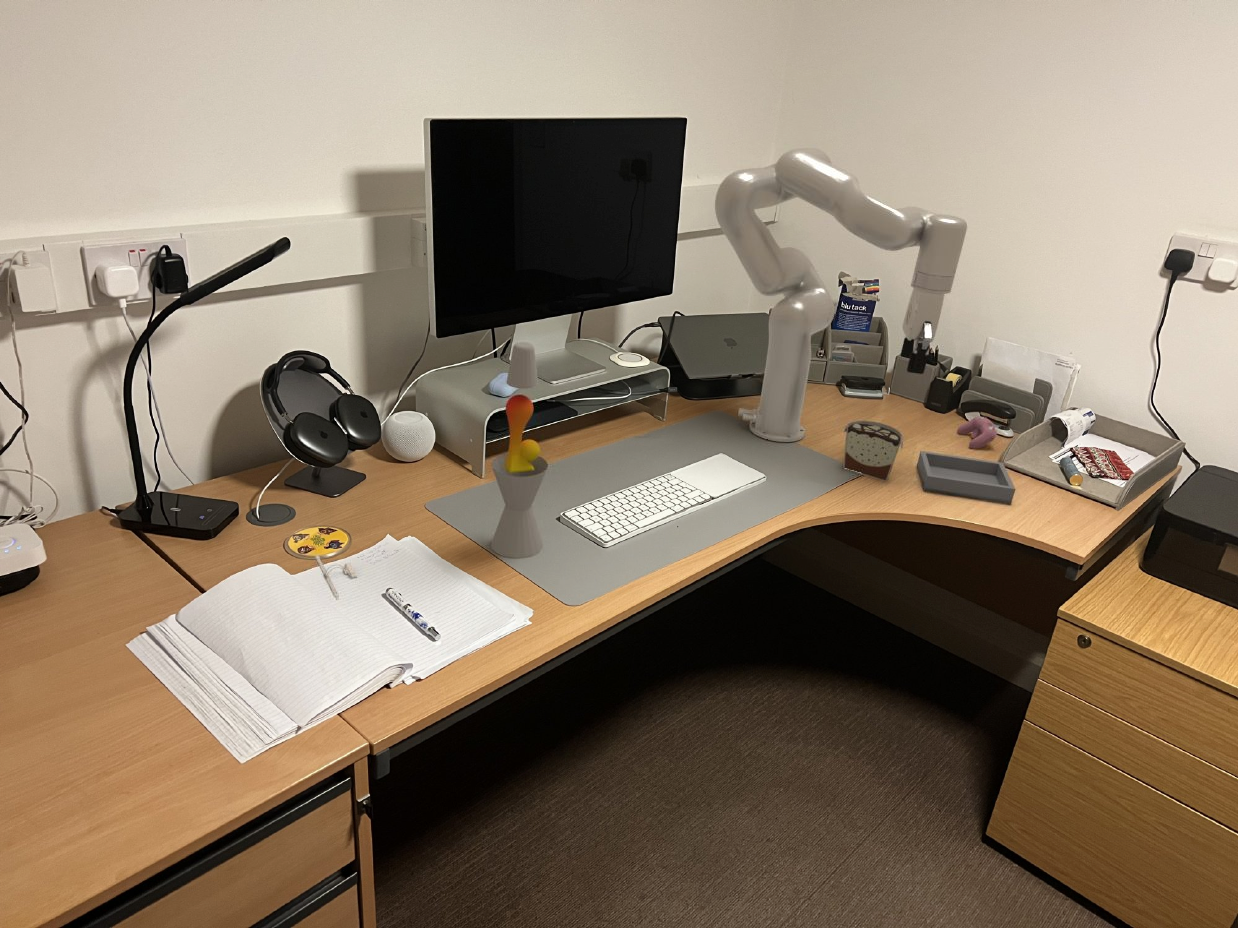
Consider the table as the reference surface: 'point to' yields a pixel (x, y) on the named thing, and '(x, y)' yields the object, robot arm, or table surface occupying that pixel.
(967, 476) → the desk holder
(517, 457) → the lava lamp
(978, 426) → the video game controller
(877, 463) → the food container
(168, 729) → the table surface
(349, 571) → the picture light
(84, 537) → the table surface
